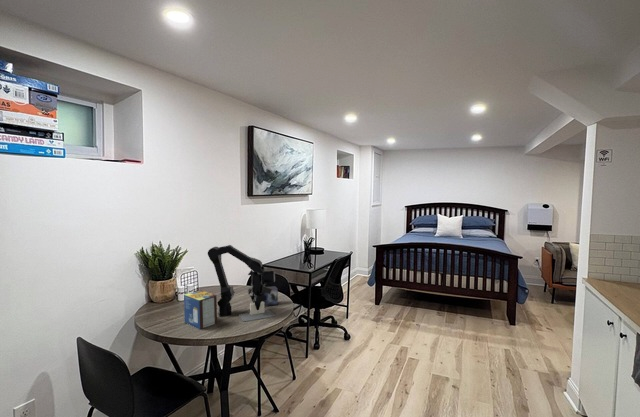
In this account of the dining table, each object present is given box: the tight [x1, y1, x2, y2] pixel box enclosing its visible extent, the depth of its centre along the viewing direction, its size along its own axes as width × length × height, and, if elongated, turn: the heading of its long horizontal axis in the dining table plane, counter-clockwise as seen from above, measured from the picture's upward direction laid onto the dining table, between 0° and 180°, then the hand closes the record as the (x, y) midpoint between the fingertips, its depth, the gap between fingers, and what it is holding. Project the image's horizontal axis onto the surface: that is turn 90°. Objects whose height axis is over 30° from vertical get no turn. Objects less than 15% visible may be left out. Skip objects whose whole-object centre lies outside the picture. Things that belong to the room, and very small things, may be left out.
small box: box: [261, 285, 279, 307], centre depth 211 cm, size 11×6×10 cm, turn 112°
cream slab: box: [249, 302, 265, 315], centre depth 195 cm, size 8×2×6 cm, turn 116°
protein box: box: [183, 290, 218, 330], centre depth 181 cm, size 10×15×16 cm
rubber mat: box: [238, 309, 276, 323], centre depth 192 cm, size 18×12×1 cm, turn 116°
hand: (257, 309), depth 195 cm, fingers open, 3 cm apart
